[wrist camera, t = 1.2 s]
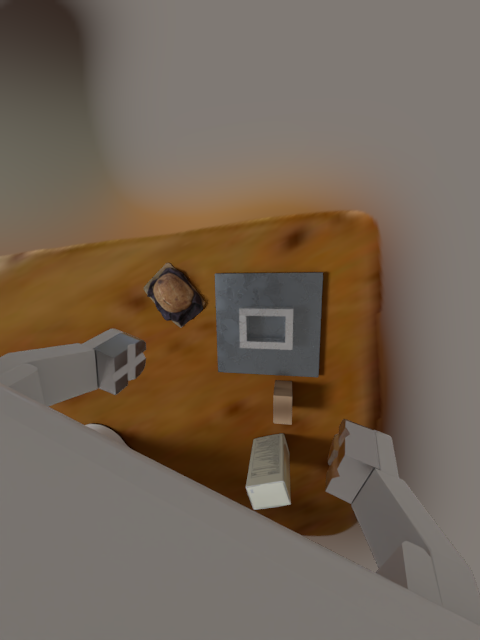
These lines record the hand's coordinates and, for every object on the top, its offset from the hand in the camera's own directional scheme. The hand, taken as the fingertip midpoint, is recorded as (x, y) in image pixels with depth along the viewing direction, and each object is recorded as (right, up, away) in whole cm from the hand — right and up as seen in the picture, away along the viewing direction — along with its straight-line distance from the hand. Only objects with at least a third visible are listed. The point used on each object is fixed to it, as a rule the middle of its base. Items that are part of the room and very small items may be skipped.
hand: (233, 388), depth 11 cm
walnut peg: (+8, -11, +40) cm, 42 cm away
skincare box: (+6, -22, +43) cm, 48 cm away
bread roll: (-12, +7, +41) cm, 43 cm away
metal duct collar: (+5, +2, +38) cm, 38 cm away
